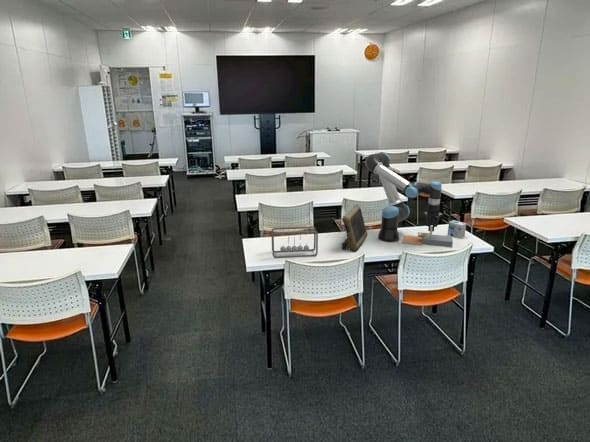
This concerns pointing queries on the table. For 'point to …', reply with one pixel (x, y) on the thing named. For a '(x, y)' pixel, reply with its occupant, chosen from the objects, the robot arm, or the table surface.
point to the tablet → (354, 229)
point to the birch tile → (423, 235)
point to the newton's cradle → (294, 248)
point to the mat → (412, 240)
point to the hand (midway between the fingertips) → (430, 235)
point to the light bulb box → (456, 229)
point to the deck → (438, 240)
